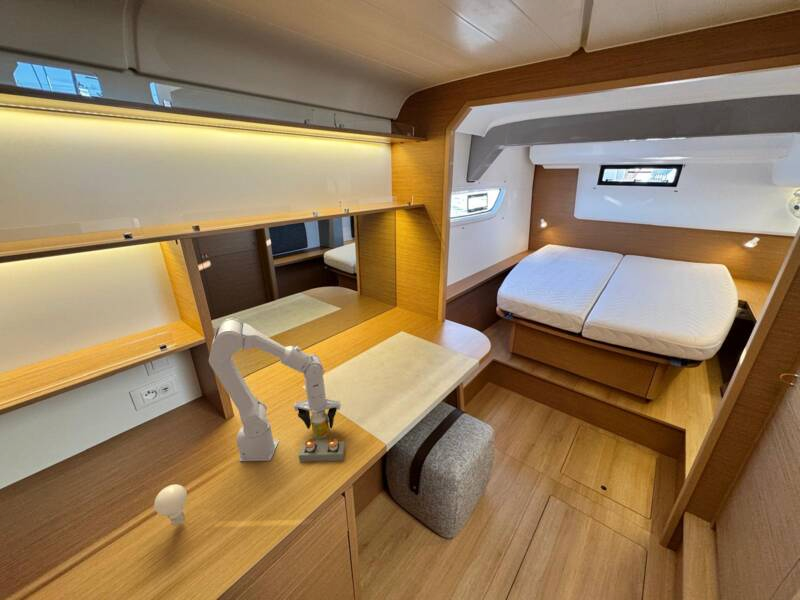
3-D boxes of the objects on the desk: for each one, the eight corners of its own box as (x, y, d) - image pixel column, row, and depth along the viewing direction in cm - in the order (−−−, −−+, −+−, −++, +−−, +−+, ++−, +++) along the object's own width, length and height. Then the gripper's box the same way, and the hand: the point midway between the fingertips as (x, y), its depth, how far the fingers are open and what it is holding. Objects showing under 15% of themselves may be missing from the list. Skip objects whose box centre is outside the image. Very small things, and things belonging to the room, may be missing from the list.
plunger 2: (328, 456, 96) (326, 445, 94) (330, 448, 99) (328, 438, 97) (338, 456, 96) (336, 445, 94) (339, 448, 99) (338, 438, 97)
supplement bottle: (313, 440, 103) (309, 416, 99) (312, 429, 108) (309, 406, 104) (330, 437, 104) (327, 413, 101) (328, 426, 109) (326, 402, 106)
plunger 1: (305, 457, 96) (303, 446, 94) (307, 449, 99) (306, 438, 97) (315, 457, 96) (313, 446, 94) (317, 449, 99) (315, 438, 97)
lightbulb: (199, 509, 81) (188, 477, 78) (184, 534, 76) (172, 502, 72) (174, 510, 81) (162, 478, 78) (157, 536, 75) (143, 503, 72)
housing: (299, 461, 95) (298, 455, 94) (313, 420, 111) (312, 415, 111) (342, 460, 95) (341, 454, 94) (350, 420, 112) (349, 414, 111)
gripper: (289, 400, 96) (295, 435, 101) (336, 399, 96) (340, 434, 101) (295, 386, 103) (301, 420, 108) (340, 385, 103) (343, 419, 108)
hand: (320, 426), depth 105 cm, fingers open, 7 cm apart
